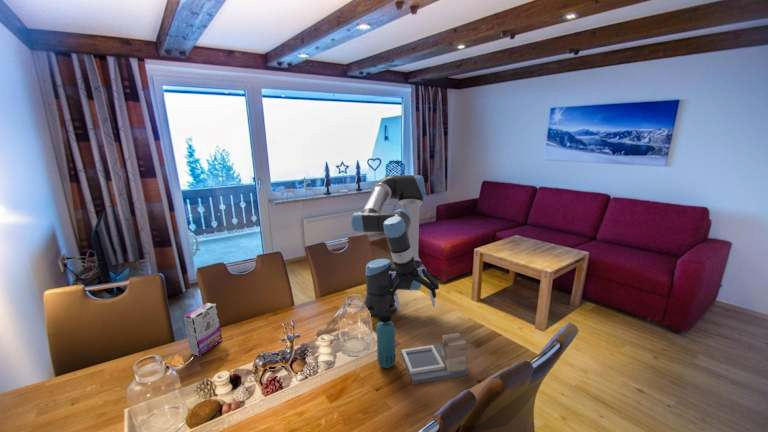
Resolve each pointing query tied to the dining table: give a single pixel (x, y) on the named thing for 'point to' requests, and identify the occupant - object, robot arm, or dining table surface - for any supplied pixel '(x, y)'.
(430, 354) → the board
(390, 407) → the dining table surface
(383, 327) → the beverage bottle
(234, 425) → the dining table surface
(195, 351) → the candy bar box
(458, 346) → the wooden pillar
